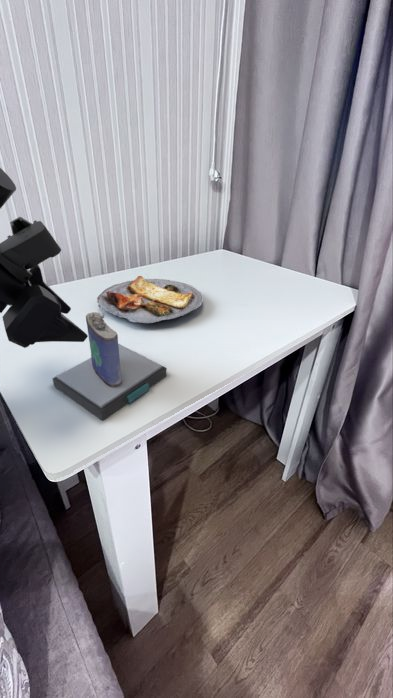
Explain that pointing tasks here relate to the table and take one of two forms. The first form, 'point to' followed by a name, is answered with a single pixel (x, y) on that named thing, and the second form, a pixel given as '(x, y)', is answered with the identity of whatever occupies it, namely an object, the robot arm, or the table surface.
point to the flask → (104, 350)
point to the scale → (106, 399)
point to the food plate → (150, 299)
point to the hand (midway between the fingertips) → (76, 323)
